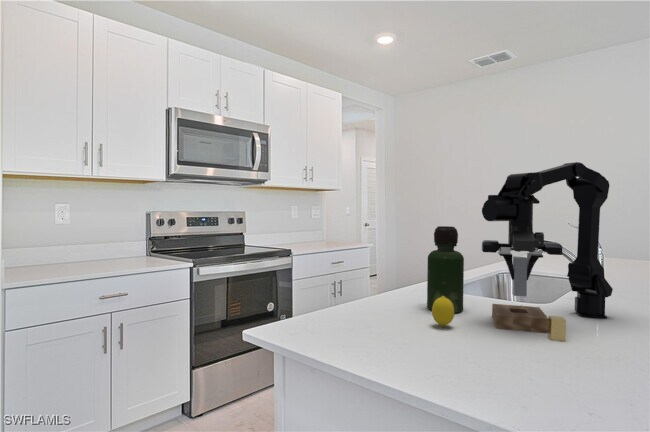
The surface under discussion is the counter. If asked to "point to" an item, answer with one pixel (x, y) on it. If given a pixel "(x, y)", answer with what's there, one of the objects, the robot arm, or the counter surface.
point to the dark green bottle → (445, 269)
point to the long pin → (520, 276)
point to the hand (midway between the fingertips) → (519, 279)
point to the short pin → (557, 328)
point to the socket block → (519, 318)
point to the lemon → (443, 311)
